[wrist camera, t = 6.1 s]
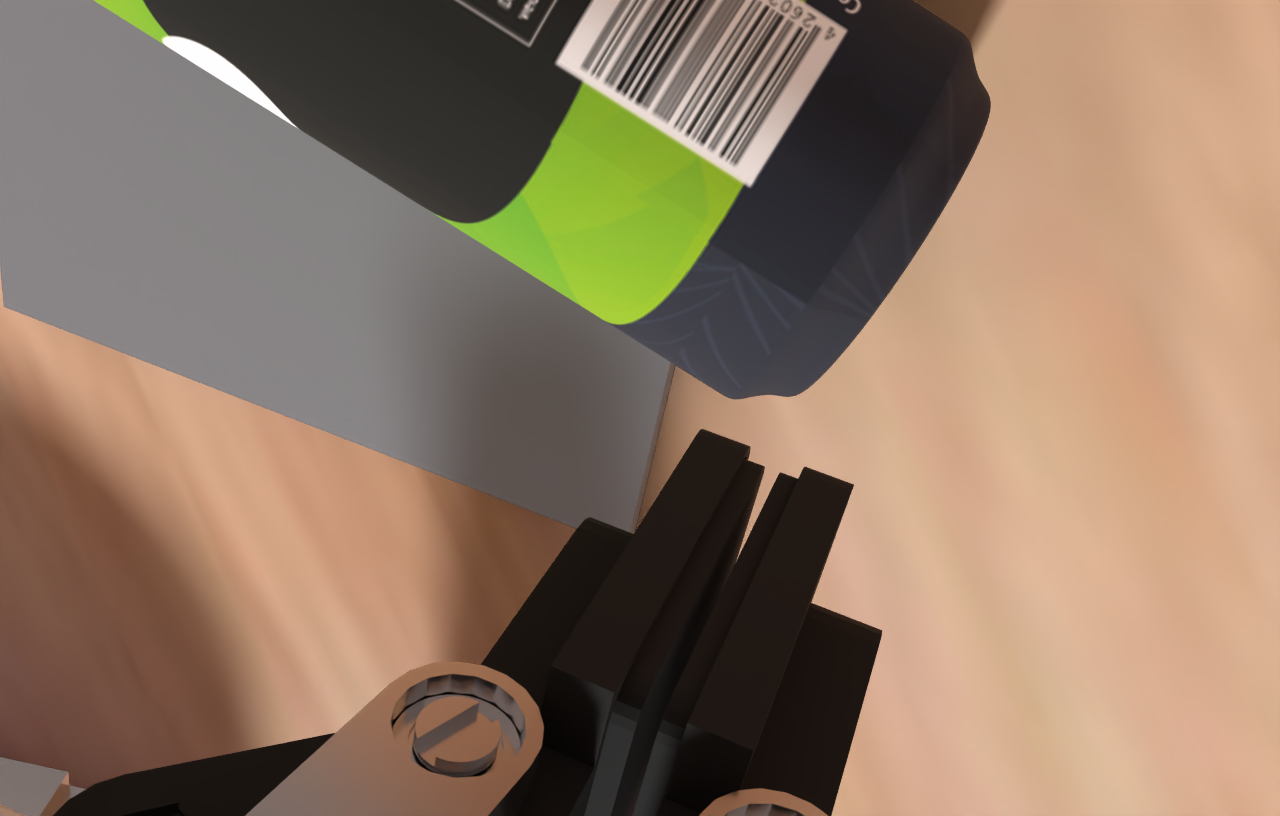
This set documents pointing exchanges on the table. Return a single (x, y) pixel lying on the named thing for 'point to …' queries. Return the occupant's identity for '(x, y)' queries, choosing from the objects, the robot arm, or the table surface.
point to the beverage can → (637, 147)
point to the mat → (299, 276)
